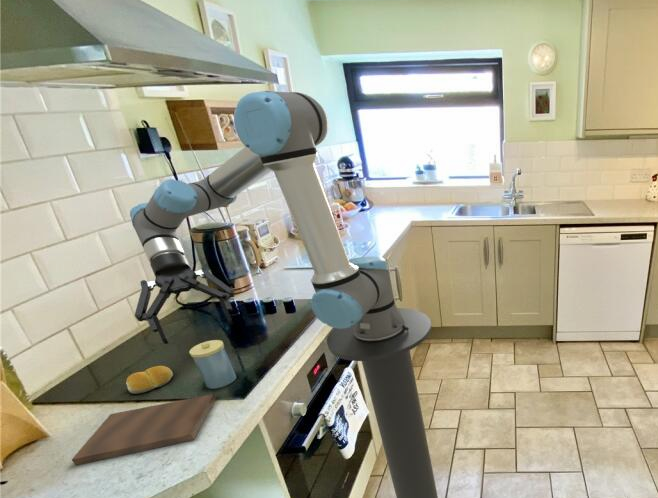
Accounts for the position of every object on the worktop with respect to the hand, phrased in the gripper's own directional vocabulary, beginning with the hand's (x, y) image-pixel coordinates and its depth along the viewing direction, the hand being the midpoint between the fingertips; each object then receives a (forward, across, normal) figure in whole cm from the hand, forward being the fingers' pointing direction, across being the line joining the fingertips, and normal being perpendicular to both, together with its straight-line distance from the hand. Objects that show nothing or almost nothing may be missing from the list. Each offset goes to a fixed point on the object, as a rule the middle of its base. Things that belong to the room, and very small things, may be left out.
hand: (199, 331), depth 102 cm
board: (+20, +14, +4) cm, 25 cm away
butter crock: (+13, 0, -3) cm, 13 cm away
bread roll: (+5, +13, -12) cm, 18 cm away
